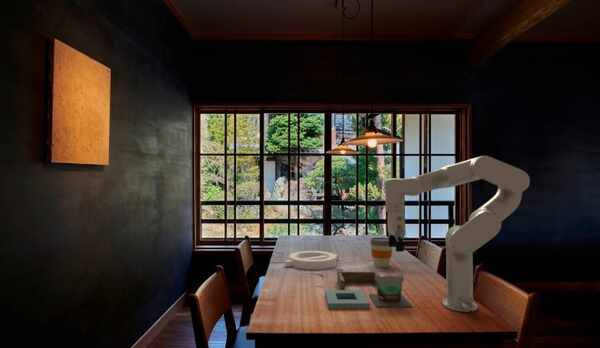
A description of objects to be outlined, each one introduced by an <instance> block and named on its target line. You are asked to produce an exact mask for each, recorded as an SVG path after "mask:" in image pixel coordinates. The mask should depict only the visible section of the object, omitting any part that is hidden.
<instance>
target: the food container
mask: <svg viewBox="0 0 600 348" xmlns="http://www.w3.org/2000/svg"><path fill="white" fill-rule="evenodd" d="M375 280H376V281H377V286H376V291H377V294H378V299H379V300H381V301H384V302H389V303H395V302H399V301H400V300H401V294H402V290H403V282H404V281H405V278H404V274H402V273H400V275H385V276H381V275H380V276H377V275H376V277H375Z"/></svg>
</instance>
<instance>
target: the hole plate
mask: <svg viewBox="0 0 600 348" xmlns="http://www.w3.org/2000/svg"><path fill="white" fill-rule="evenodd" d="M324 296H325V300H326V304H328V305H327V308H367V309H370V307H371V306H370V305H371V304H370V302H369V300H368V298H367V296H366V295H365V293H364V291H363V289H345V290H340V289H325V290H324Z"/></svg>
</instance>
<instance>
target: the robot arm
mask: <svg viewBox="0 0 600 348" xmlns="http://www.w3.org/2000/svg"><path fill="white" fill-rule="evenodd" d="M479 180H484V181H487V182H488V183H491V184H492V185H495V186H497V191H496V194H495V195H494V196H493V197H492V198H490V199H489V200H488V201H487V202H486V203H484V204H482V205H481V206H480V207H479V208H478V209H476V210H474V211H473V212H472V213H471V214H470V216H469V218H468V221H467V222H465V223H464V224H463V225H454V226H453V225H452V226H451V227H450V228H449V229H448V230H447V231H446V232H445V233H446V234H445V255H446V256H445V258H446V263H445V264H446V265H445V268H446V269H445V271H446V273H445V274H446V276H445V277H446V283H445V286H446V290H445V292H446V295H445V297H446V298H444V299H443V300H442V303H441V304H442V305H443V307H444V308H446V309H449V310H452V311H457V312H461V311H462V313H463V312H465V313H471V312H470V311H472V312H475V311H477V310H478V304H477V303H475V302H474V281H473V279H474V273H473V272H474V263H473V262H474V260H473V259H474V258H473V253H474V252H475V251H476V250H478V249H480V248H481V247H483V246H484V245H485V244H486V243H488V242H489V241H490V240H492V239H493V238H494V237H496V236H497V234H499V232H500V230H501V228H502V222H503V221H504V220H505V219H506V218H508V217H509V216H510V215H511V214H512V213H514V212H515V210H517V208H518V207H519V206H520V204H521V200H522V195H523V192H525V191H526V190H527V189H528V187H529V186H530V184H531V183H530V182H531V179H530V176H529V175H528V173H527V172H525V171H524V170H523V169H520V168H518V167H516V166H513V165H510V164H509V163H505V162H504V161H501V160H499V159H496V158H493V157H491V156H488V155H480V156H478V157H474V158H470V159H467V160H464V161H461V162H457V163H453V164H449V165H446V166H443V167H440V168H438V169H436V170H434V171H430V172H428V173H423V174H421V175H416V176H412V177H409V178H399V177H397V178H396V177H394V178H392V177H391V178H386V180H385V183H384V189H385V190H384V192H385V193H384V194H385V211H386V213H387V233H388V238H389V247H392V248H395V252H397V253H398V252H399V253H402V252H405V239H404V238H405V236H406V235H407V230H406V220H405V214H404V212H405V196H409V197H410V196H411V197H417V196H419V195H421V194H423V193H427V192H430V191H434V190H439V189H445V188H446V189H447V188H453V187H457V186H459V185H460V186H461V185H463V184H467V183H472V182H475V181H479Z"/></svg>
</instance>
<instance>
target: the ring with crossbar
mask: <svg viewBox="0 0 600 348" xmlns="http://www.w3.org/2000/svg"><path fill="white" fill-rule="evenodd" d="M288 256H289V257H288V258H289V259H287V260H284V265H285V266H286V267H293V268H297V269H300V270H301V269H302V270H325V269H330V268H333V267H336V265H337V260H340V254H337V253H332V252H329V251H323V250H303V251H296V252H293V253H290V254H289V255H288Z"/></svg>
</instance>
